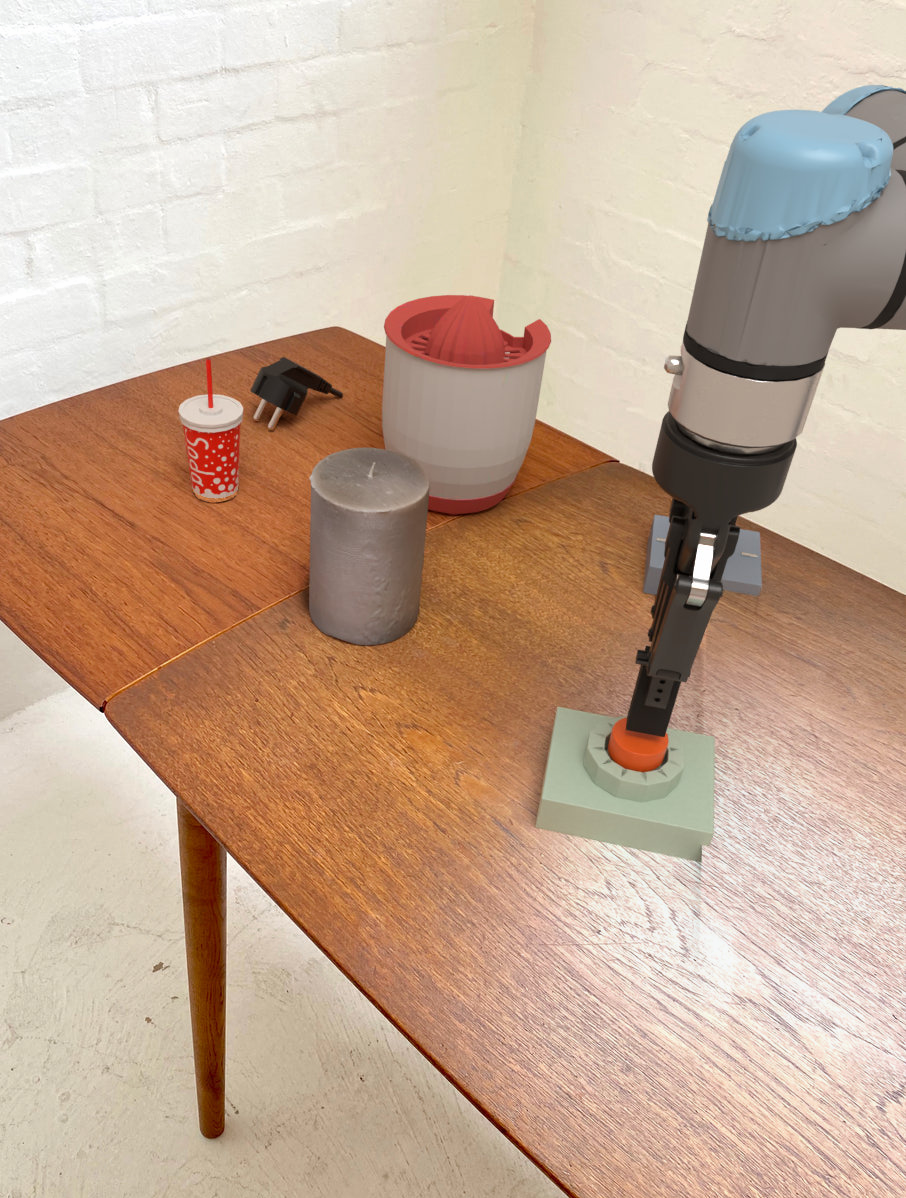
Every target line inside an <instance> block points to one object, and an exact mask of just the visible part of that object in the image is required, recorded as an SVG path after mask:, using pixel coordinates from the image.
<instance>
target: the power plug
mask: <svg viewBox="0 0 906 1198" xmlns="http://www.w3.org/2000/svg"><path fill="white" fill-rule="evenodd" d="M309 389H310V390H312V391H315V392H317V393H322V394H324V395H329V394H331V395H332V396H335V397H336V398H339V399H342V398H343V396H344V392H342V391H339V390H338V389H336V388H335V387H333V385H332V384H331V383H330V382H328V381H327V380H326V379H324V378H323V377H322V376H320V375H319V374H317V373H315V372H313V371H311V370H310V369H308V368H306V367H304V366H303V365H300V364H299V363H297V362H295V361H293V360H291V359H289V358H287V357H285V356H281V357H280V358H279V359H278V360H277V361H276V362H273V363H271V364H269V365H267V366H262V367H261V368H260V369H259V371H258V373H257V375H256V377H255V379H254V381H253V383H252V385H251V388H250V390H249V392H251V393H252V394H254V395H256V396H257V397H259V398H260V399H261V400H260V402H259V404H258V407H257V408H256V410H255V412H254V415H253V417H252V420H253V421H254V422H255V421H258V422H260V420H261V419H262V416H263V414H264V412H265V410H266V408H267V406H268V404H271V405H273V406H275V407H276V408H275V410H274V412H273V415H272V416H271V419H270V420H269V423H268V424H267V430H268V431H270V430H273V431H274V430H275V429H276V426H277V425H278V422H279V420H280V418H281V416H282V414H283V412H284V411H285V412H287V413H289V414H291V415H294V416H296V417H297V416H298V414H299V412H300V410H301V408H302V406H303V403H304V402H305V400H306V397H307V395H308V390H309Z"/></svg>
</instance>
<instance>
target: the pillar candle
mask: <svg viewBox="0 0 906 1198" xmlns="http://www.w3.org/2000/svg"><path fill="white" fill-rule="evenodd" d="M308 480H309V481H310V519H309V520H310V524H309V525H310V527H309V530H310V531H309V536H310V537H309V582H308V585H309V587H308V589H309V590H308V591H309V593H308V610H309V611H308V612H309V616H310V618H311V621H312V622H313V624H314V626H315V627H316V628H317V629H318V631H320V632H321V633H323V634H325V635H326V636H329V637H333V638H335V639H338V640H341V641H343V642H344V641H345V642H347V643H350V644H354V645H357V646H378V645H383V644H388V643H391V642H393V641H396V640H398V639H400V638H402V637H403V636H405V635H407V633H409V632H410V631H411V629H412V628H413V627H414V625H415V624H416V622H417V620H418V617H419V613H420V602H421V601H420V600H421V591H422V583H423V582H422V581H423V580H422V579H423V569H424V562H425V547H426V535H427V524H428V512H429V509H428V501H429V490H430V481H429V477H428V474H427V472H426V471H425V469H424V467H422V466H421V465H420V464H419V463H417V462H416V461H415V460H413V459H411V458H410V457H407V456H405V455H403V454H400V453H397V452H393V451H390V450H386V449H384V448H377V447H353V448H347V449H343V450H339V451H337V452H334V453H333V452H332V453H331V454H329V455H326V456H325V457H324V458H322V459H321V460H319V461H318V463H316V464H315V466H314V467H313V469H312V471H311V475H310V476H309V478H308Z"/></svg>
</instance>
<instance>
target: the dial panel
mask: <svg viewBox="0 0 906 1198" xmlns="http://www.w3.org/2000/svg"><path fill="white" fill-rule="evenodd" d="M669 526H670V522H669V516H666V515H662V514H661V515H660V514H653V518H652V522H651V526H650V531H649V534H648V538H647V545H646V554H645V555H646V556H645V564H644V565H645V566H644V576H643V585H642V586H643V587H642V593H643V594H648V595H654V596H656V594H657V590H658V586H659V582H660V577H661V573H662V569H663V565H664V560H665V557H664V551H665V542H666V538H667V534H668V530H669ZM762 577H763V576H762V550H761V532H760V531H756V530H749V529H743V528H740V533H739V538H738V542H737V545H736V548H735V551H734V554H733V555H732V556H731V557H729V558H728V560H727V563H726V566H725V569H724V573H723V576H722V579H721V582H722V585H723V591H727V592H732V593H737V594H738V593H739V594H743V595H750V596H753V597H754V596H755V597H759V596H760V593H761V590H762V588H763V578H762Z"/></svg>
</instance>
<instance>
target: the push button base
mask: <svg viewBox="0 0 906 1198" xmlns="http://www.w3.org/2000/svg"><path fill="white" fill-rule="evenodd" d="M626 717H627V715H622V716H609V715H604V714H598V713H595V712H588V711H582V710H578V709H572V708H567V707H563V706H557V707H556V710H555V715H554V720H553V723H552V724H553V725H552V729H551V734H550V738H549V739H550V740H549V745H548V750H547V757H546V762H545V768H544V774H543V778H542V785H541V791H540V797H539V803H538V808H537V814H536V819H535V826H534V828H535V829H538V830H544V831H549V832H552V833H553V832H554V833H558V834H563V835H567V836H573V837H578V838H581V839H582V838H583V839H587V840H591V841H596V842H602V843H606V844H611V845H615V846H619V847H620V846H621V847H626V848H630V849H633V850H640V851H644V852H649V853H654V854H659V855H663V856H668V857H673V858H678V859H683V860H687V861H693V862H697V863H702V862H703V846H704V847H710V845H711V843H712V840H713V837H714V834H715V783H716V782H715V779H716V778H715V777H716V776H715V774H716V771H715V770H716V737H715V736H711V735H707V734H702V733H697V732H691V731H686V730H683V729H676V728H672V727H671V728H670V727H668V728H667V731H666V733H667V735H668V739H669V742H668V746H667V749H666V753H665V756H664V759H663V762H662V764H661V765H660V766H659V767H658V768H656V769H655V770H652V771H649V772H638V771H633V770H628V769H625V768H623V767H621V766H620V765H618V764H617V763H615V762H614V761H613V760H612V758H611V757H610V755H609V752H608V744H609V740H610V736H611V732H612V729H613V726H614V725H615V723H616V722H617V721H619V720H620V719H623V718H626Z"/></svg>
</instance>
